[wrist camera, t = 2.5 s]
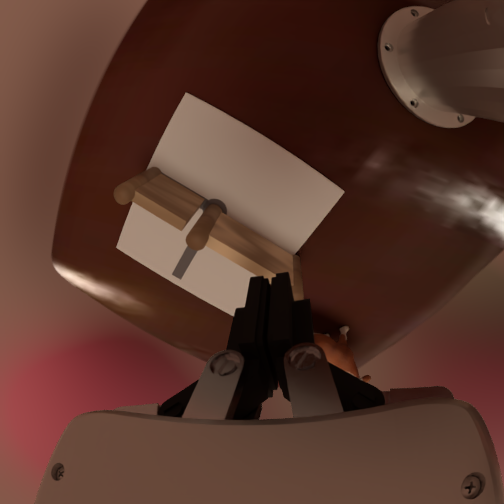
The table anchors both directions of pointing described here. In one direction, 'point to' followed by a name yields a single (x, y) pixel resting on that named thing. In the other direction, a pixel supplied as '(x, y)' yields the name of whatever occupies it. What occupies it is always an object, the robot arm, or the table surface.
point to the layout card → (225, 200)
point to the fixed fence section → (160, 197)
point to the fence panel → (244, 247)
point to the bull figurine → (339, 352)
